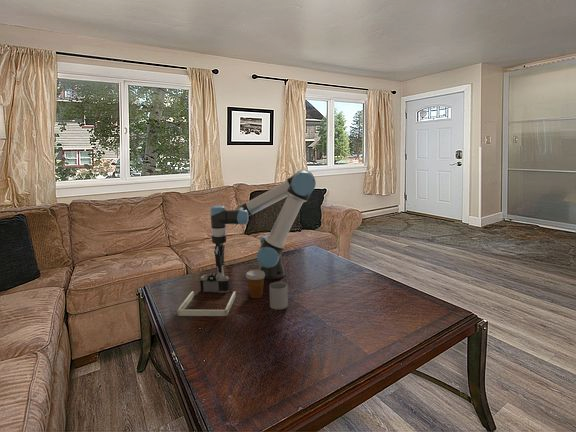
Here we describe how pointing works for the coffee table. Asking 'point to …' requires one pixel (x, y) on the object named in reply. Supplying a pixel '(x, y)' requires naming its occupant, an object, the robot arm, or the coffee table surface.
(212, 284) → the camera
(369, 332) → the coffee table surface
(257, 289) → the disposable coffee cup
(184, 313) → the docking bay
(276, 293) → the cup
